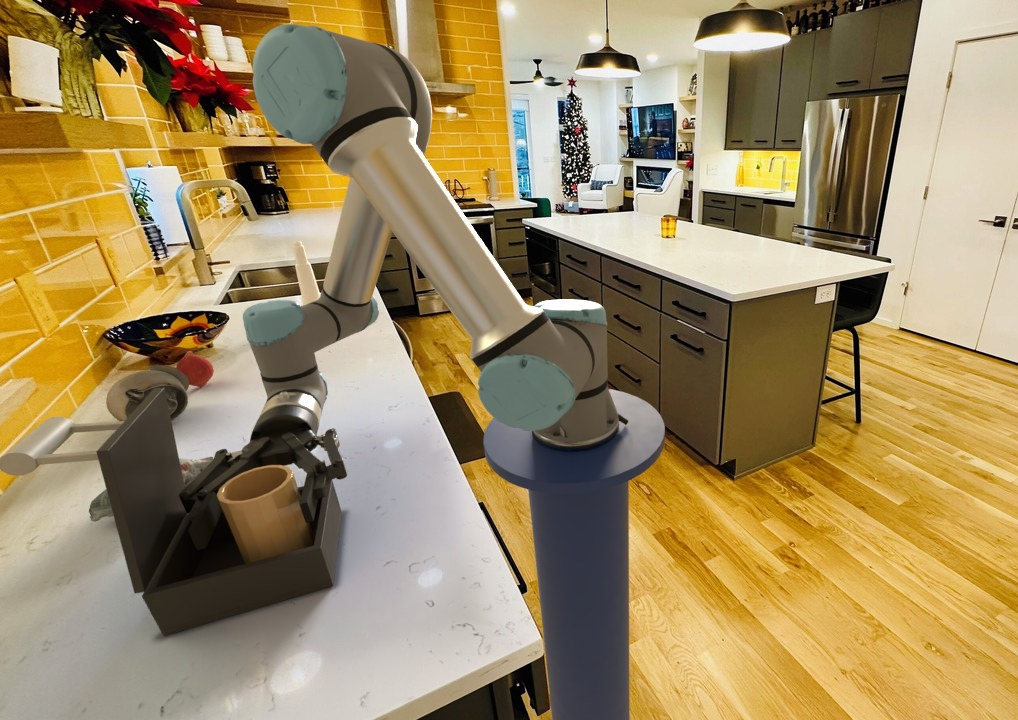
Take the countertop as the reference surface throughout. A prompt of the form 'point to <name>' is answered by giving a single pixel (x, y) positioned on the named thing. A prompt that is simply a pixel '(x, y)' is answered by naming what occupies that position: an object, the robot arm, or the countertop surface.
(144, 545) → the lid
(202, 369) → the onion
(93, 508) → the packaged food
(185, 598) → the grey lidded box
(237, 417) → the countertop surface
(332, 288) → the robot arm
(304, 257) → the cosmetic bottle
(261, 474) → the cup
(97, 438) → the countertop surface
